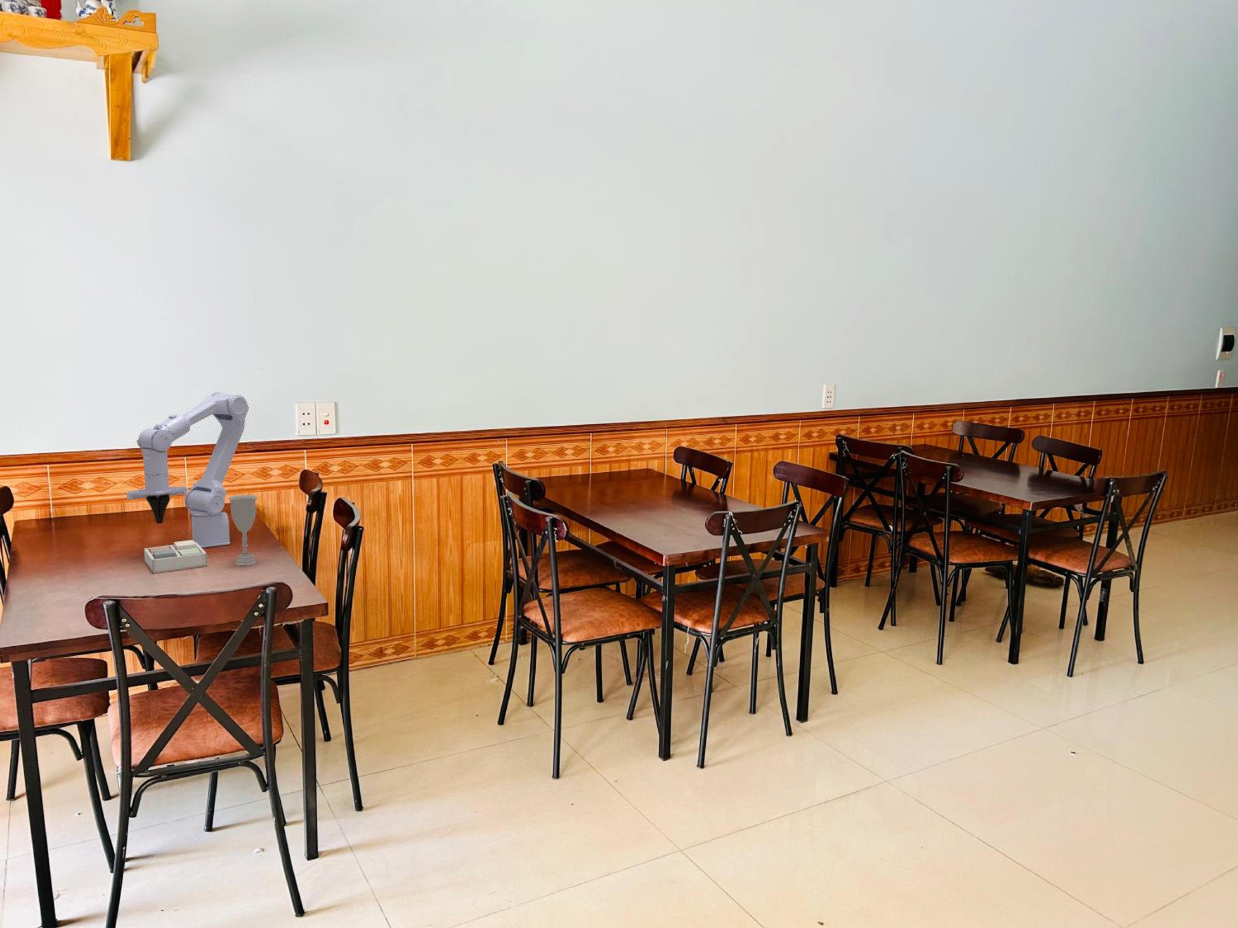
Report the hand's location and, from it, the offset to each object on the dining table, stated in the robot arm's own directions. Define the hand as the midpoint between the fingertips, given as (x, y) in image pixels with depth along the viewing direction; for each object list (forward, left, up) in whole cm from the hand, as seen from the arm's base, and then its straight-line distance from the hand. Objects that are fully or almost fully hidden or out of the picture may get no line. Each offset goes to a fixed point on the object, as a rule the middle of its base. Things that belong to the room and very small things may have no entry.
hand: (159, 522), depth 244 cm
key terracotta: (+1, +6, -8) cm, 10 cm away
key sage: (-5, +12, -8) cm, 15 cm away
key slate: (+1, +12, -7) cm, 14 cm away
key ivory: (-5, +6, -7) cm, 11 cm away
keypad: (-2, +9, -9) cm, 13 cm away
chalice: (-18, +17, -10) cm, 26 cm away
